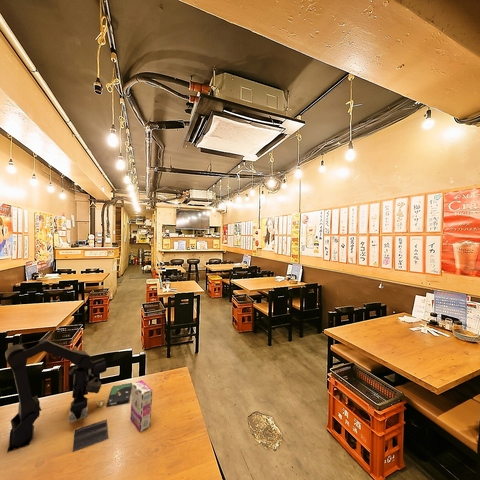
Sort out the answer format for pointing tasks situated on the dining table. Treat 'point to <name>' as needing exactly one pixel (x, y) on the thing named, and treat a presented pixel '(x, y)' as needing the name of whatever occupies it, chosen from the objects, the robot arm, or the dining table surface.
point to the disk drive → (119, 395)
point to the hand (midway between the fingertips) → (78, 413)
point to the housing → (83, 415)
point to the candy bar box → (141, 405)
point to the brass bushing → (100, 403)
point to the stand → (90, 435)
